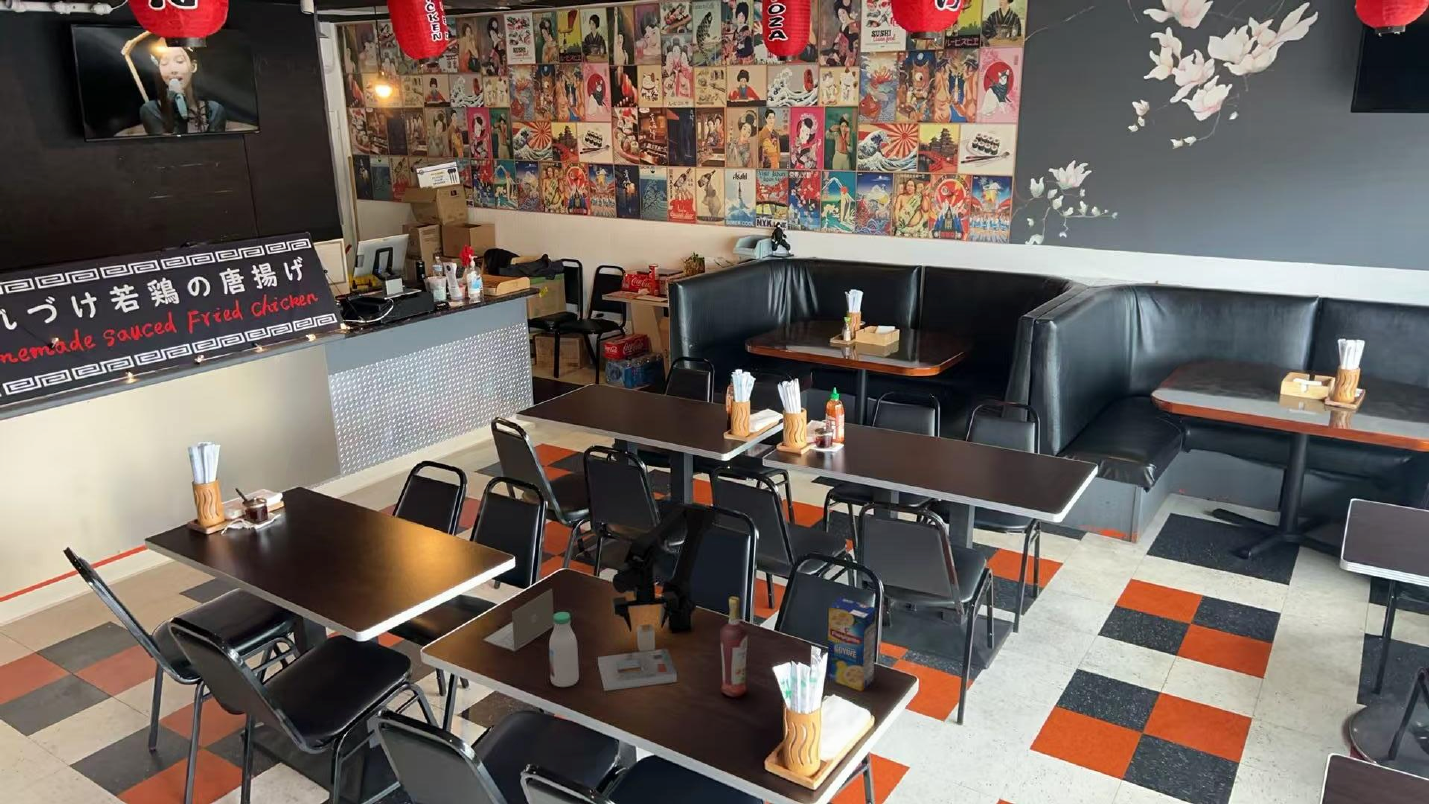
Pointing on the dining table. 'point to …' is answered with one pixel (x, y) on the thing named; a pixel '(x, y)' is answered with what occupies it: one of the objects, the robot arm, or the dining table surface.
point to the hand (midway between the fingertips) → (646, 629)
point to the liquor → (733, 652)
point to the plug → (646, 637)
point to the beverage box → (851, 643)
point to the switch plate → (652, 671)
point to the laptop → (526, 623)
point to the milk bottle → (563, 652)
